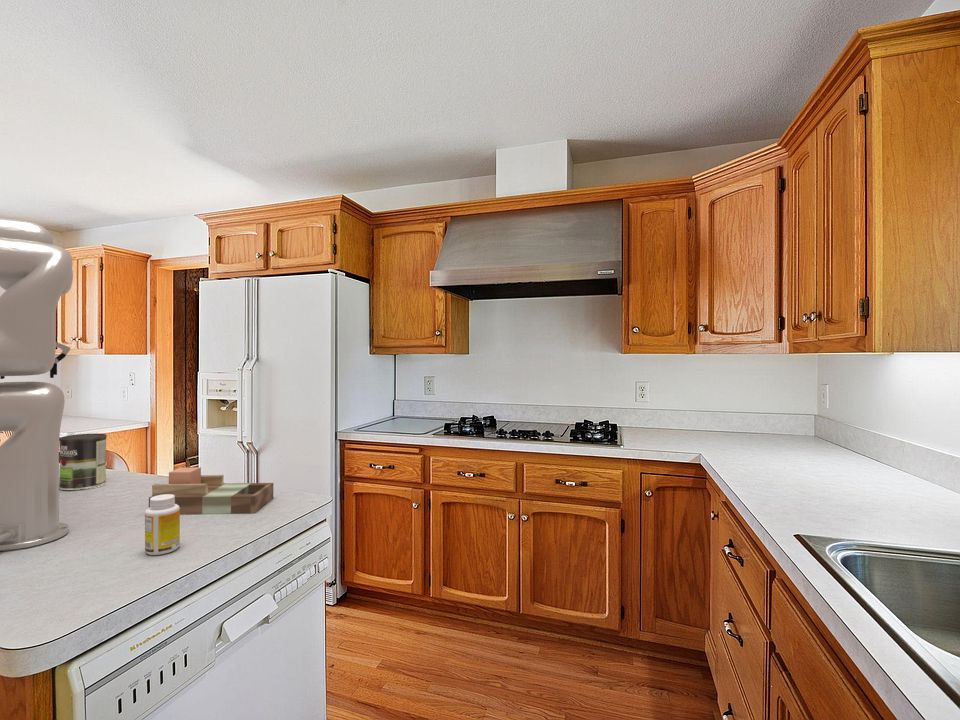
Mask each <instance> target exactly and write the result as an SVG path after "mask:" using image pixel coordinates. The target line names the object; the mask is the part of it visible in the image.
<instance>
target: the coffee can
mask: <svg viewBox="0 0 960 720" xmlns="http://www.w3.org/2000/svg"><path fill="white" fill-rule="evenodd" d="M106 465H107V434H105V433H97V432H96V433H80V434H79V433H78V434H70V435H65V436H61V437H59V491H62V490H78V491H81V490H80V489H87V490H89V489H88V488H92V489H95V488H94V487H97V488H99V487H98V486H100V487H102V486H101V485H103V486H105V485H106V484H107V477H106V476H107V466H106ZM105 483H106V484H105ZM104 484H105V485H104Z"/></svg>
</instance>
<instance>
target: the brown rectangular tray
mask: <svg viewBox="0 0 960 720" xmlns="http://www.w3.org/2000/svg"><path fill="white" fill-rule="evenodd" d="M164 494H172V495H174V496H175V504H177V505H179V507H180V515H218V514H219V515H220V514H221V515H222V514H223V515H224V514H225V515H226V514H227V515H228V514H229V515H230V514H231V515H232V514H237V515H238V514H240V515H241V514H256V513H257V512H259V510H261V509H262V508H263V507H264V506H266V505H267V504H268V503H269V502H271V500H273V499H274V482H237V483H236V482H233V483H232V482H231V483H227V482H226V483H225V482H224V474H201V484H169V483H154V484H153V485H152V486H151V496H149V497H148V508H150V498H152V497H154V496H158V495H164Z"/></svg>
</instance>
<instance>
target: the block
mask: <svg viewBox="0 0 960 720" xmlns="http://www.w3.org/2000/svg"><path fill="white" fill-rule="evenodd" d="M201 470H202V467H198V466H197V467H178V468H175V469H173V470H170V471H169V472H168V484H201V475H202V471H201Z"/></svg>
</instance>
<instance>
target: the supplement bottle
mask: <svg viewBox="0 0 960 720" xmlns="http://www.w3.org/2000/svg"><path fill="white" fill-rule="evenodd" d="M180 515H181V514H180V507H179V505H177V504H175V496H174V495H172V494H164V495H158V496H154V497H152V498H150V508H149V507H148V508H146V510H145V511H144V543H145V544H144V550H145V551H144V552H145V553H146V554H147V555H149V556H160V555H166V554H170V553H171V552H172V553H173V552H174V551H176V550H177V549H178V548H179V547H180V543H181V541H180V540H181V537H180V536H181V533H180V532H181V527H180V526H181V523H180V522H181V521H180V519H181V518H180V517H181V516H180Z"/></svg>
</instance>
